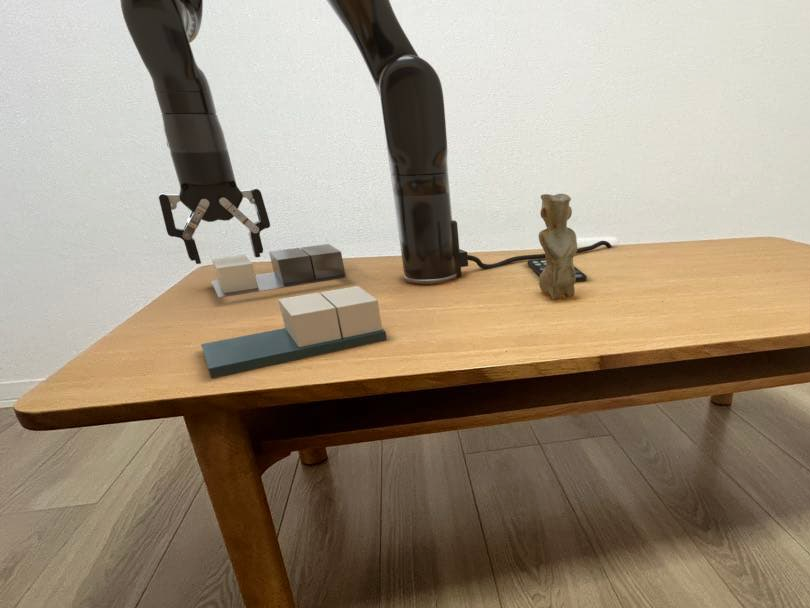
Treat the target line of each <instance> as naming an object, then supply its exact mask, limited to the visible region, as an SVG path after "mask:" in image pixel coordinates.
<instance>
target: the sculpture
mask: <svg viewBox="0 0 810 608" xmlns="http://www.w3.org/2000/svg"><path fill="white" fill-rule="evenodd" d="M540 199H541V208H540V217H541V219H542V220H543V221H544V224H545V227H546V228H545V229H542V230H540V231H539V233H538V241H539V244H540V246H541V248H542V250H543V252H544V254H545V256H546V267H545V268H544V270H543V271H542V273H541V275H540V276H539V278H538V286H539V289H540V291H542V292H543V293H545V294H550V298H551V299H552V300H559V299H561V298H562V297H563V296H564V297H565V298H572V297H574V296H575V284H576V282H577V281H576V275H575V269H574V267H575V265H574V257H575V255H577V254H576V252H577V249H578V241H577V234H576V232H575V231H574V230H573V228H571V227H568V226H567V225H568V221H569V220H570V219H571V217H572V215H573V210H572V207H571V205H570V202H571V200H572V197H570V196H569V195H568V194H566V193H557V194H554V195H553V194H549V193H544V194H541V195H540Z"/></svg>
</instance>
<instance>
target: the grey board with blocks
mask: <svg viewBox="0 0 810 608" xmlns="http://www.w3.org/2000/svg"><path fill="white" fill-rule="evenodd" d="M268 255H269V259H270V262H271V266H272V270H273V271H272V272H271V271H270V272H265V273H258V274H257V273H256V274H255V276H256V280H257V284H258V288H256V289H249V290H243V291H236V292H230V293H224V292H223V290H222V288H221V286H220V284H219V282H218V279H215V280H211V282H210V283H211V284H212V286H213V288H214V290H215V292H216V295H217V297H218V298H220V299H221V298H226V297H233V296H238V295H239V296H240V295H246V294H252V293H259V292H263V291H264V292H265V291H271V290H277V289H278V290H279V289H284V288H291V287H297V286H304V285H309V284H316V283H323V282H329V281H335V280H341V279H346V278H347V279H348V278H349V276H348V275H346V271H345V266H344V260H343V254H342V251H341V250H339V249H338V248H336V247H334V246H332V245H331V244H329V243H327V244H326V243H325V244H316V245H310V246H301V247H295V248H294V247H293V248H287V249H278V250H271V251H268Z"/></svg>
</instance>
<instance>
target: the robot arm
mask: <svg viewBox="0 0 810 608" xmlns="http://www.w3.org/2000/svg"><path fill="white" fill-rule="evenodd" d="M119 2H120V8H121V12H122V16H123V20H124V23H125V26H126V28H127V31H128V33H129V35H130V38H131V40H132V42H133V45H134V47H135V48H136V50H137V54H138V55H139V57H140V60H141V61H142V63H143V65H144V67H145V69H146V71H147V73H148V75H149V78H150V80H151V83H152V88H153V92H154V96H155V99H156V102H157V106H158V108H159V112H160V116H161V121H162V127H163V133H164V137H165V140H166V146H167V148H168V150H169V155H170V157H171V162H172V164H173V167H174V171H175V174H176V175H175V176H176V178H177V181H178V184H179V193H178V194H177V193H176V194H174V193H173V194H171V193H169V194H166V193H165V192H160V193H159V194H158V200H159V205H160V209H161V213H162V217H163V221H164V225H165V229H166V234H167V235H168V236H169V237H172V238H178V239H181V240H182V241H183V243H184V246H185V249H186V252H187V256H188V258H189V260H190V261H191V262H194V263H195V265H201V264H202V260H201V257H200V255H199V251H198V247H197V244H196V240H195V238H194V237H193V236H194V234H195V232H196V231H197V229H198V227H199V225H200V223H201V221H204V222H207V223H213V222H216V221H223V222H224V221H231V220H232V219H233V218H235V219H237V220H238V221H239V222H240V223H241V224H242V225H244V226H245V228H247V229H248V237H249V241H250V245H251V249H252V253H253V256H254V258H261V254H263V253H264V247H263V243H262V238H261V235H260V234H261V232H262V231H264V230H266V229H269V228H270V227H271V223H270V219H269V215H268V212H267V211H268V210H267V209H266V205H265V201H264V198H263V195H262V192H261V190H260V189H258V188H256V187H251V188H250V189H244V190H243V189H242V190H241V189H240V188H239V187H238V184H237V182H236V177H235V174H234V170H233V165H232V161H231V157H230V153H229V150H228V145H227V141H226V138H225V133H224V129H223V127H222V125H221V122H220V119H219V116H218V112H217V109H216V105H215V101H214V97H213V93H212V89H211V86H210V82H209V80H208V78H207V75H206V73H205V72H204V71H203V69H201V68H200V67H199V66H198V63H197V62H196V59H195V56H194V52H193V50H192V47H191V44H192V43H193V42H194V41H196V39H197V37H198V35H199V33H200V30H201V27H202V22H203V10H204V9H203V6H204V3H203V2H204V0H120V1H119ZM326 2H327V3H328V5H329V6H330V8H331V9H332V11H333V12H334V14H335V15H336V17H337V18H338V19H339V21H340V22H341V24H342V25H343V26H344V28H345V29H346V31H347V32H348V34H349V36H350V37H351V39H352V41H353V42H354V44H355V46H356V47H357V49H358V51H359V53H360V55H361V57H362V59H363V61H364V64H365V65H366V69H368V72H369V74H370V76H371V78H372V81H373V83H374V86H375V88H376V90H377V92H378V96H379V99H380V106H381V107H380V108H381V113H382V120H383V128H384V134H385V135H384V136H385V143H386V151H387V159H388V167H389V172H390V180H391V187H392V195H393V201H394V210H395V217H396V225H397V232H398V240H399V246H400V254H401V261H402V270H403V280H404V281H405V282H406V283H407V282H408V283H410V284H415V285H416V284H417V285H435V284H441V283H442V284H443V283H446V282H450V281H453V280H455V279H458V278H462V277H463V276H462V275H463V273H462V268H465V267H469V261H471V262H474V263H476V265H477V266H478V268H481V269H484V270H490V269H494V268H499V267H503V266H506V265H508V264H512V263H514V262H523V261H528V260H535V259H546V256H545V253H536V254H524V255H517V256H512V257H509V258H505V259H504V260H501V261H498V262H496V263H490V264H489V263H483V262H482V260H481V259H480V258H479V257H477V256H475V255H471V254H468V251H466V250H463V249H460V237H459V228H458V227H459V226H458V222H457V220H455V219H453V213H452V211H453V210H452V201H451V192H450V191H451V190H450V179H449V169H448V168H449V165H448V136H447V123H446V110H445V108H446V107H445V99H444V91H443V85H442V81H441V79H440V77H439V76H440V75H438V73H437V71H436V70H435V68H434V67H433V66H432V65H431V64H430V63H429V62H428V61H427V60H425V59H423V58H422V57H420V55H419V54H418V52H417V51H416V50H415V48H414V46H413V45H412V43H411V41H410V40H409V38H408V36H407V34H406V33H405V31H404V29H403V27H402V26H401V24H400V22H399V20H398V18H397V15H396V13H395V11H394V9H393V7H392V4H391V2H390V0H326ZM244 198H245V199H246V200H247V201H248V203H249V204H252V205H253V206H254V209H255V212H256V215H257V219H258V220H257V221H255V222H253V221H252V220H251V219H249V217H248V216H247V215H245V214H244V213H243V212H242V211H240V209H239V207H240V206H241V203H242V201H243V199H244ZM179 202H181V204H183V205H184V206H185V207H186V208H187V209H188V210H190V213H189V215H188V218H187V220H186V222H185V224H184V226H183V228H181V227H180V228H179V227H176V224H175V219H174V215H173V210H176V209H177V207H178V203H179ZM601 246H605V247H606V248H608V249H612V248H613V246H612V244H611V243H610V242H609V241H607V240H599V241H597V242H595V243H594V244H592V245H588V246H584V247H579V248H578V247H577V252H576V254H575V255H578V254H581V253H585V252H590V251H593V250H595V249H597V248H599V247H601Z"/></svg>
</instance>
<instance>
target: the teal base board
mask: <svg viewBox="0 0 810 608" xmlns="http://www.w3.org/2000/svg"><path fill="white" fill-rule="evenodd" d="M278 304H279V308H280V312H281V316H282V321H283V324H284V327H283V328H278V329H274V330H268V331H263V332H258V333H257V332H256V333H251V334H247V335H246V334H245V335H241V336H237V337H231V338H226V339H221V340H216V341H210V342H205V343H201V345H200V346H201V349H202V351H203V355H204V359H205V362H206V366H207V369H208V372H209V375H210V378H211V379H215V378H220V377H223V376H229V375H233V374H237V373H242V372H247V371H251V370H252V371H253V370H256V369H261V368H265V367H269V366H274V365H278V364H283V363H284V364H285V363H287V362H292V361H297V360H302V359H306V358H311V357H315V356H319V355H324V354H328V353H333V352H338V351H342V350H346V349H351V348H355V347H360V346H365V345H369V344H374V343H379V342H383V341H387V340H388V339H387V332H386V330H385V329H384V328H383V325H382V318H381V312H380V307H379V300H378V299H377V298H375V297H374V296H373V295H371V294H370V293H368V292H367V291H366V290H365V289H363V288H362V287H360V286H359V285H355V286H350V287H344V288H343V287H342V288H337V289H332V290H326V291H325V290H324V291H320V292H314V293H313V292H312V293H307V294H301V295H296V296H290V297H289V296H288V297H283V298H278Z"/></svg>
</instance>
